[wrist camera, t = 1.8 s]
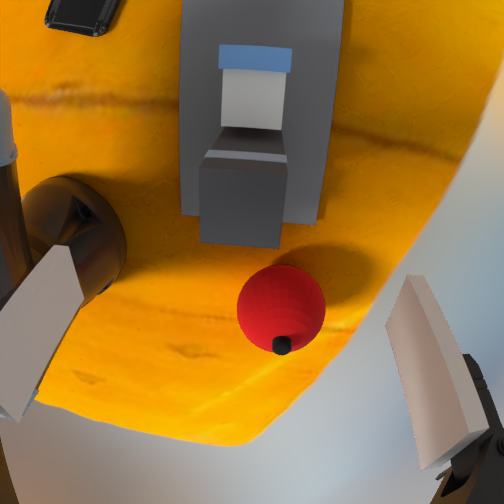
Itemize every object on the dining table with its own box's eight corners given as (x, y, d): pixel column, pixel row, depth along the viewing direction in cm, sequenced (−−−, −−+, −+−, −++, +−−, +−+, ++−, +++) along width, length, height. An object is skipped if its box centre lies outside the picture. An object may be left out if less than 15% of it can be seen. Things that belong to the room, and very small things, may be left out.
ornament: (235, 250, 34) (223, 318, 26) (321, 245, 33) (335, 312, 25) (245, 311, 39) (238, 379, 31) (319, 308, 38) (328, 375, 30)
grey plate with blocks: (184, 210, 32) (162, 254, 25) (190, -51, 17) (163, -82, 11) (314, 220, 32) (324, 267, 25) (344, -42, 17) (368, -72, 11)
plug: (225, 171, 28) (199, 243, 19) (227, 121, 26) (197, 166, 16) (276, 175, 28) (279, 249, 18) (281, 125, 26) (289, 173, 16)
